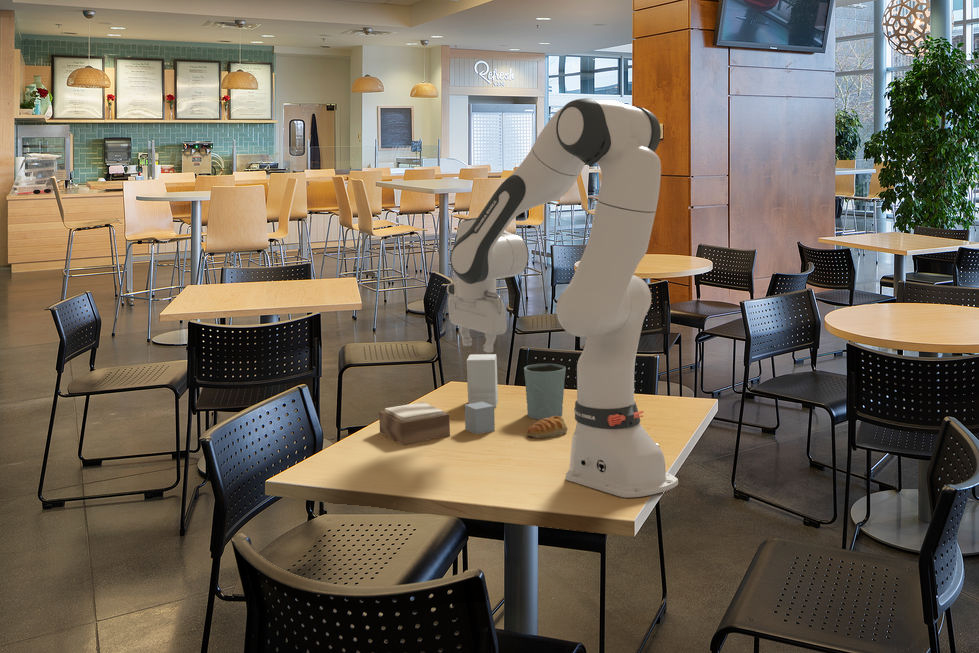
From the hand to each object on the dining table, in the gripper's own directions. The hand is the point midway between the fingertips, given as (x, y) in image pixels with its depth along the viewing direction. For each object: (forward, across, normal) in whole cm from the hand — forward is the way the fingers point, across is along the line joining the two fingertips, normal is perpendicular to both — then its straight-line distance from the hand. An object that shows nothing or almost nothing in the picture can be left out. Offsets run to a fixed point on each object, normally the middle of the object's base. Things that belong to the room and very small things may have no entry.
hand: (477, 348), depth 205 cm
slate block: (+19, 0, 0) cm, 19 cm away
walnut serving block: (+19, +6, +14) cm, 25 cm away
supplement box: (+20, +20, -13) cm, 31 cm away
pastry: (+20, -12, -11) cm, 26 cm away
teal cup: (+19, +2, -20) cm, 28 cm away
